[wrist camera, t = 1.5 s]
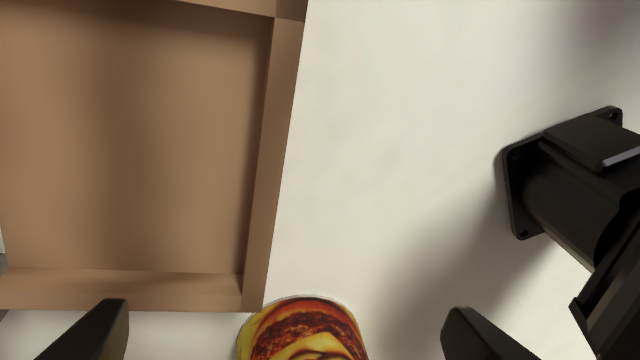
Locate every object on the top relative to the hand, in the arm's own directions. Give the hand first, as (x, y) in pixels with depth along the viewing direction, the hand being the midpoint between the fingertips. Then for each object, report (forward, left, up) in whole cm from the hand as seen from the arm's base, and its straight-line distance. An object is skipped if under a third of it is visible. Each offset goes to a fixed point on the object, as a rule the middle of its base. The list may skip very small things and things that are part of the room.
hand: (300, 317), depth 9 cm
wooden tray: (+2, +6, -12) cm, 13 cm away
